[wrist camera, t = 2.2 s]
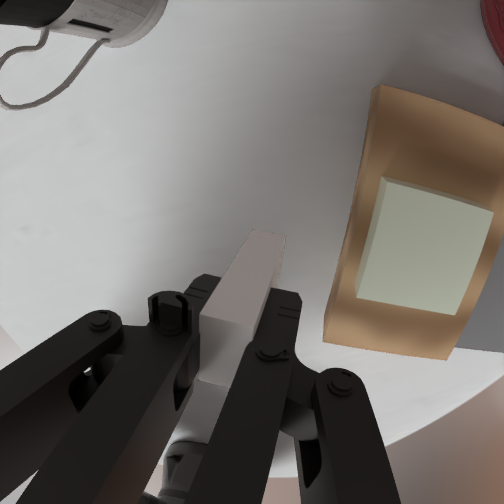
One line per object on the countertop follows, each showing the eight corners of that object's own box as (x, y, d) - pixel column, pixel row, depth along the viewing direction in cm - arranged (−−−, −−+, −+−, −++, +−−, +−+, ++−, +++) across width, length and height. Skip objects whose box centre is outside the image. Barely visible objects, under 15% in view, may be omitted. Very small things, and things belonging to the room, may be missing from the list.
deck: (436, 334, 27) (446, 360, 24) (324, 315, 29) (322, 342, 26) (502, 133, 19) (526, 137, 15) (372, 89, 21) (381, 84, 17)
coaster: (446, 299, 22) (455, 315, 20) (354, 282, 23) (356, 297, 21) (480, 203, 18) (493, 212, 16) (381, 175, 20) (387, 181, 18)
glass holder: (176, -38, 19) (70, -109, 5) (151, 103, 25) (11, 112, 11) (99, -23, 20) (-13, -58, 6) (78, 103, 26) (-51, 122, 12)
